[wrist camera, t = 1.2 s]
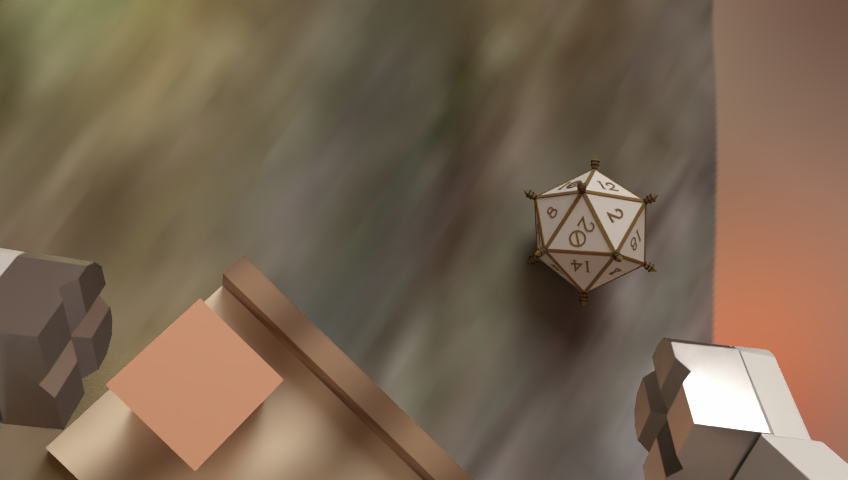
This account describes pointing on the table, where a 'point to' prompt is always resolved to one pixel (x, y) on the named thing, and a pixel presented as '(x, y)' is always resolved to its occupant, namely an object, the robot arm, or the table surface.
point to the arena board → (270, 412)
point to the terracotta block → (195, 384)
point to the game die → (590, 230)
